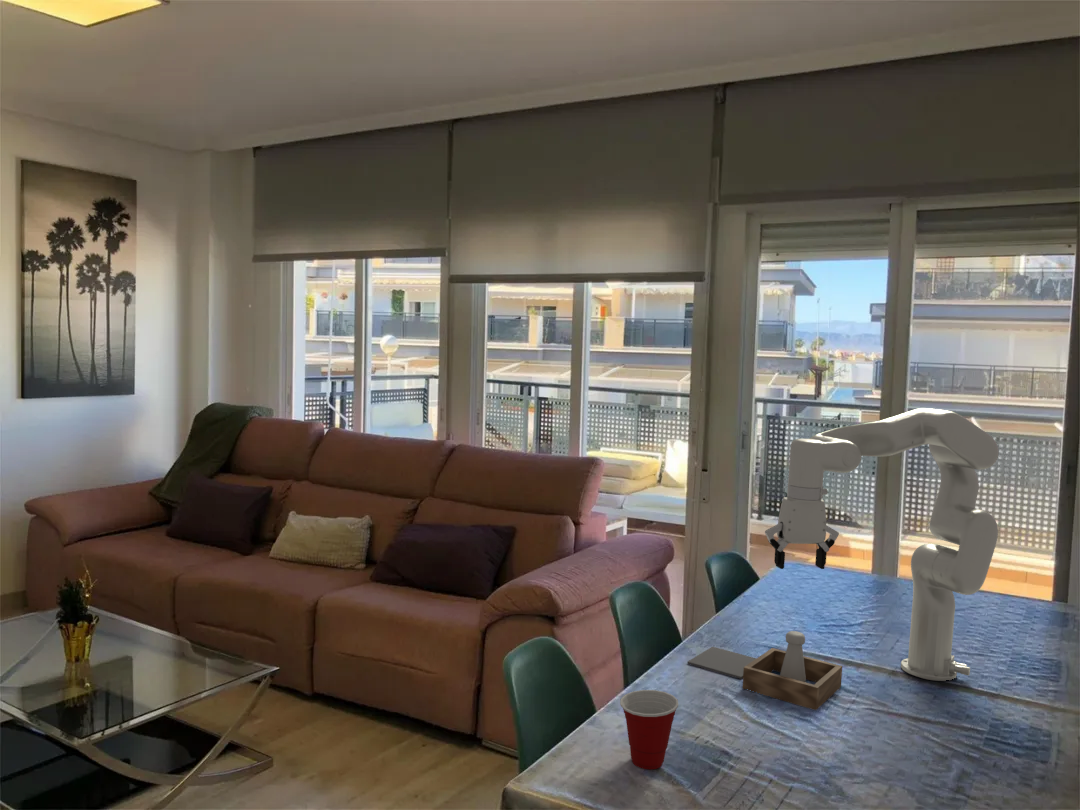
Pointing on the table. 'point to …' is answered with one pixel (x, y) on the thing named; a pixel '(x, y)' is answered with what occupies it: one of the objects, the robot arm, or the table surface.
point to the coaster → (722, 661)
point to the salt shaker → (794, 657)
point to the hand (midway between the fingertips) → (799, 567)
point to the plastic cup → (648, 725)
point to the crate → (792, 680)
